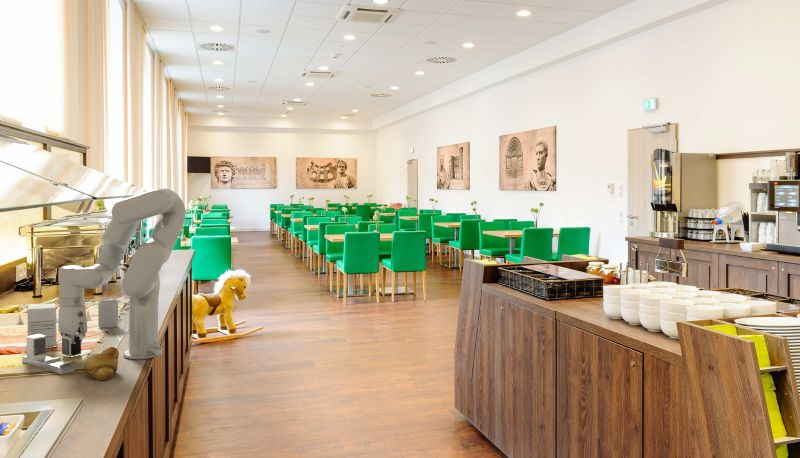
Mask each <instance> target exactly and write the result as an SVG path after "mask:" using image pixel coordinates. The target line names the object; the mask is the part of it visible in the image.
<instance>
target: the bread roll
mask: <svg viewBox="0 0 800 458" xmlns="http://www.w3.org/2000/svg"><path fill="white" fill-rule="evenodd" d="M119 355H120V353H119V349H117V348H116V347H114V346H111V347H107V348H105V349H104V350H102V351H101V353H95V354H93V355H90V356H89V357H87V358H86V361H85V363H84V365H83V368H84V370H85V373H86V375H87V377H88V378H93V379H96V380H99V381H101V380H108V379H110V378H112V377H113V375H114V374H115V373H117V371H118V369H119V366H118V365H119V360H118V359H119Z"/></svg>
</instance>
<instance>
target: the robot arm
mask: <svg viewBox="0 0 800 458" xmlns="http://www.w3.org/2000/svg"><path fill="white" fill-rule="evenodd" d="M158 215H159V217H158V220H157V221H156V223H155V225H154V227H153V230H152V232H151V234H150V235H149V238H148V240H146V241H145V242H143V243H141V244H140V245H139V246H138V248H137V250H136V251H135V253H134V255H133V257H132V259H131V261H130V263H129V265H128V268H127V270H126V272H125V274H124V276H123V278H122V283H121V286H122V290H123V292H124V293H125V294H126V295H127V296H128V297H129V298H128V299H129V301H128V303H129V304H128V349H127V350H125V351H124V353H123V356H124V358H127V359H129V360H147V359H148V360H149V359H153V358H157V357H159V356H161V355H163V353H164V352H163V351H164V348H163V347H162V346H160V342H159V297H160V286H161V279H160V274H159V273H160V270H161V269H162V267H163V265H164V264H165V263H167V262H168V261H169V259H170V256H171V255H172V253H173V250H174V247H175V245H176V243H177V240H178V238H179V236H180V234H181V231H182V228H183V226H184V224H185V220H186V207H185V204H184V202H183V200H182V199H181V197H180V196H179V195H178V194H177V193H176V191H174V190H172V189H169V188H155V189H151V190H149V191H146V192H142V193H138V194H137V195H133V196H130V197H127V198H124V199H120V200H118V201H117V202H115V203H114V204H113V206H112V208H111V216H112V218H111V219H110V222H109V223H108V225H107V227H106V229H105V230H104V233H102V234H103V235H102V243H103V244H102V248H101V252H100V253H99V256H98V257H97V259H96V261H95V263H94V264H93V265H91V266H88V267H83V266H80V265H64V266H61V267H60V269H59V271H58V275H59V276H58V279H59V280H58V287H59V288H58V292H59V293H58V294H59V298H58V301H59V302H58V305H59V309H58V325H57V327H58V332H59V333H60V335H61V340H62V339H63V336H68V335H72V343H73V344H71V355H77V354H80V353H81V354H82V343H83V339H84V338H86V336H87V335H86V334H87V333H88V319H87V318H88V317H87V311H86V306H85V289H91V290H92V289H93V290H94V289H98V288H100V287H101V286H103V285H105V284H107V283H108V282H110V281H111V279H113V277H114V275H115V273H116V271H117V269H118V268H119V266H120V264H121V263H122V260H123V258H124V255H125V253H126V251H127V247H128V245H129V244H130V242H131V239H132V237H133V236H134V234H135V233H136V230H137V229H138V227H139V226H140V225H139V224H140V223H141V221H143V220H146V219H148V218H152V217H155V216H158ZM75 336H78V337H77V338H76V339H75Z"/></svg>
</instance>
